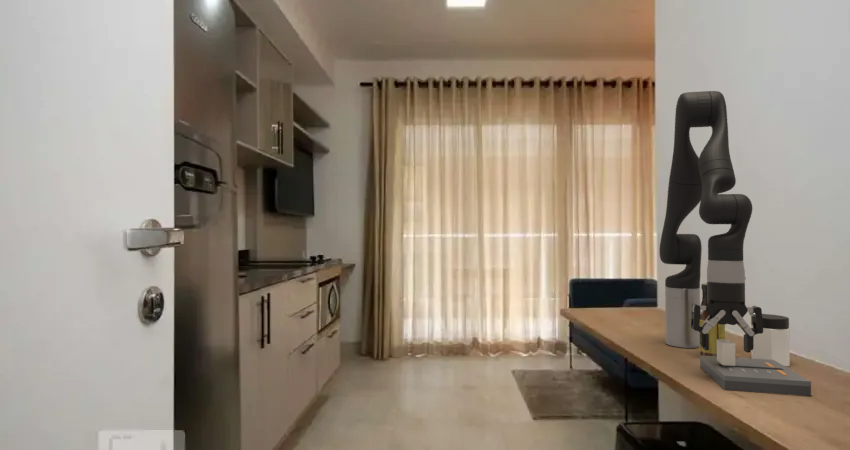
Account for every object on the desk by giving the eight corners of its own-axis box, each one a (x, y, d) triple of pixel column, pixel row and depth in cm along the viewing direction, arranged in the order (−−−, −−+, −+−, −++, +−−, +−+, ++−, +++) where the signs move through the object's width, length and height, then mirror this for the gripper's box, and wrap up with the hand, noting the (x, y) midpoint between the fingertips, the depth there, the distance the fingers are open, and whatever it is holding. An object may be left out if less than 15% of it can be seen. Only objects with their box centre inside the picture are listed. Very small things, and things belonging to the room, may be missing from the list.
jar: (797, 364, 127) (797, 317, 127) (781, 368, 123) (780, 320, 123) (759, 356, 135) (759, 312, 135) (743, 360, 131) (743, 315, 131)
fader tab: (716, 366, 117) (716, 339, 117) (729, 366, 116) (729, 339, 116) (722, 370, 113) (722, 342, 113) (735, 371, 112) (735, 343, 112)
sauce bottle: (719, 354, 137) (718, 282, 137) (730, 360, 131) (730, 285, 131) (694, 354, 138) (693, 282, 138) (704, 359, 131) (704, 284, 132)
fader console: (700, 367, 124) (700, 354, 124) (773, 372, 120) (773, 359, 120) (724, 389, 107) (724, 375, 107) (811, 396, 103) (811, 381, 103)
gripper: (754, 279, 117) (754, 349, 116) (687, 278, 120) (687, 345, 120) (767, 282, 109) (768, 356, 109) (696, 280, 113) (696, 352, 113)
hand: (726, 350), depth 114 cm, fingers open, 8 cm apart
